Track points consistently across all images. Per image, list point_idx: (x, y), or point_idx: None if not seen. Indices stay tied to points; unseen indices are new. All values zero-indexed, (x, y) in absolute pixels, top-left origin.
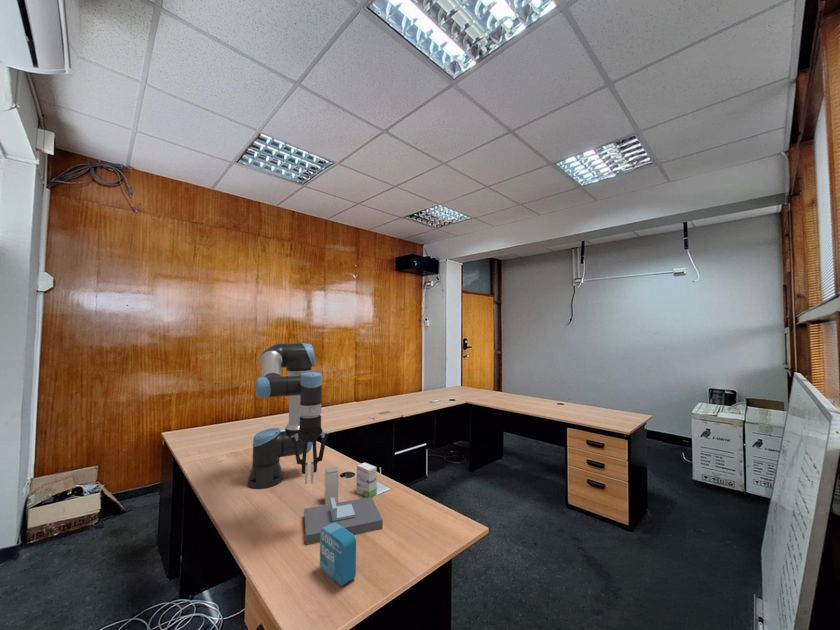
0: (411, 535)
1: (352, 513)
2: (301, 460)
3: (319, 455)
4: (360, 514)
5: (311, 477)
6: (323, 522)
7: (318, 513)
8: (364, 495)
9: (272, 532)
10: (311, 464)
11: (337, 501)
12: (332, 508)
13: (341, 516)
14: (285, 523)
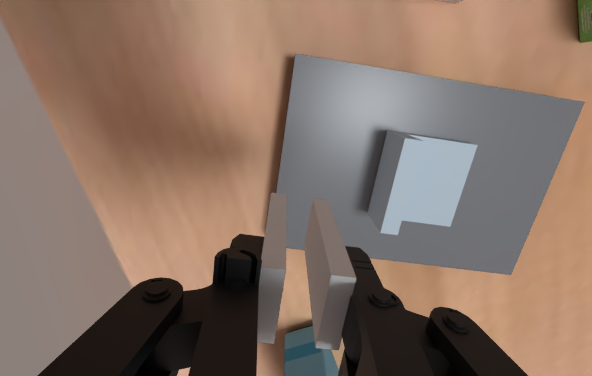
0: (535, 318)
1: (445, 216)
2: (192, 357)
3: (457, 361)
4: (470, 211)
5: (307, 269)
6: (338, 200)
7: (339, 128)
8: (580, 12)
9: (174, 112)
10: (318, 326)
11: (454, 1)
12: (381, 224)
13: (403, 216)
14: (221, 71)
